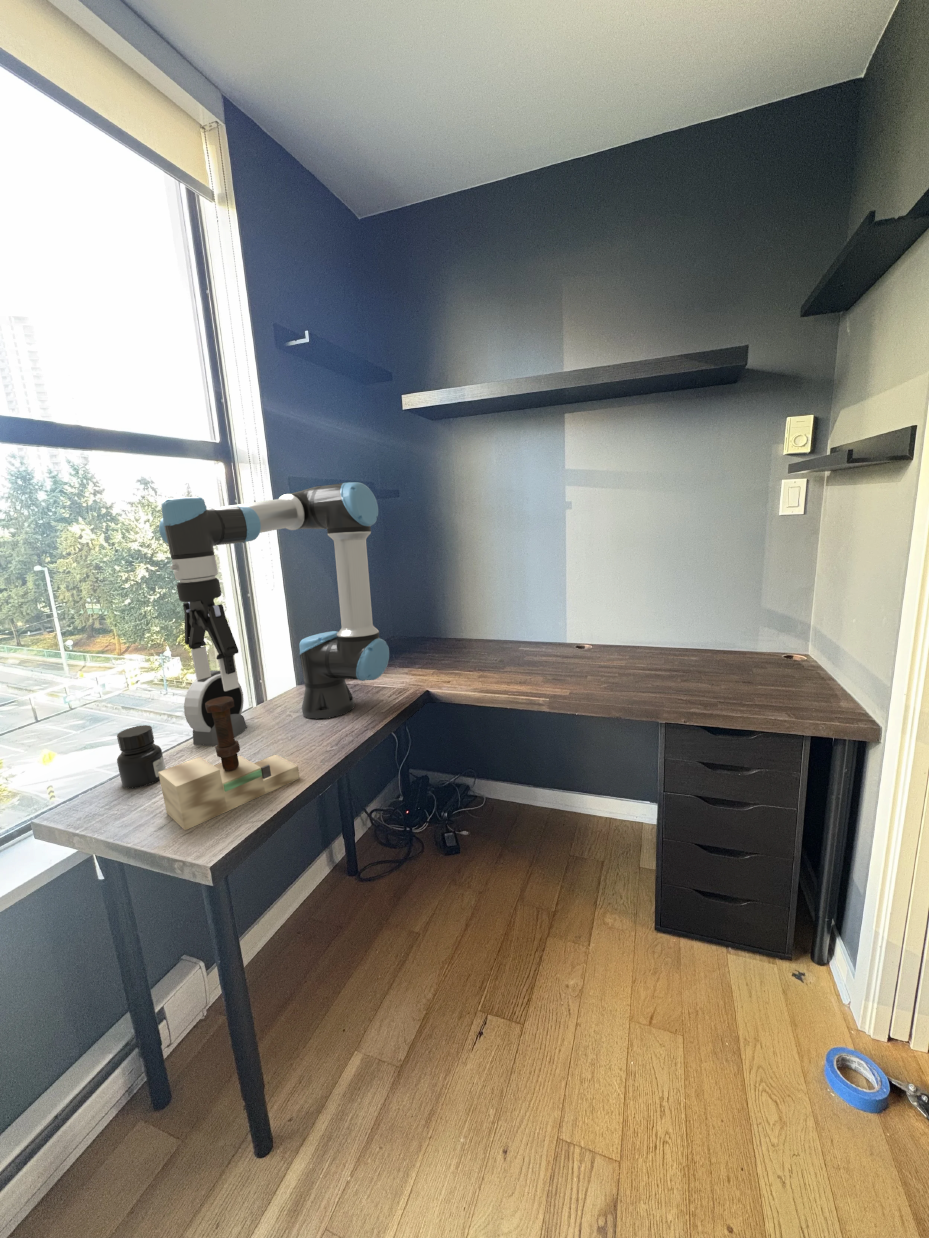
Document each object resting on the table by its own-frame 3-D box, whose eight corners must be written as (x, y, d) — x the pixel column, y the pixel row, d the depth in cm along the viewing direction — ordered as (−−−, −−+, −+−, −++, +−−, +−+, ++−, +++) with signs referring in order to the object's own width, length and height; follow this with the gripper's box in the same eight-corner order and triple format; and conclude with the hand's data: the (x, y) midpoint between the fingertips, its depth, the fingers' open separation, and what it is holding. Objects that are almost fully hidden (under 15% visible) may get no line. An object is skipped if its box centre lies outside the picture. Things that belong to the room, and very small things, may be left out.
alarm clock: (213, 749, 136) (200, 682, 133) (182, 746, 140) (169, 680, 136) (256, 724, 151) (245, 663, 148) (227, 722, 154) (217, 662, 151)
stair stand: (277, 766, 123) (271, 730, 122) (301, 779, 116) (295, 740, 114) (166, 813, 107) (158, 771, 105) (186, 831, 99) (177, 787, 98)
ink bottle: (171, 779, 122) (161, 730, 119) (127, 794, 116) (115, 743, 114) (161, 766, 129) (151, 720, 126) (118, 780, 123) (107, 732, 121)
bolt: (249, 761, 113) (238, 695, 110) (240, 773, 108) (228, 703, 105) (222, 764, 113) (210, 697, 110) (212, 775, 108) (198, 706, 105)
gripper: (155, 580, 109) (175, 678, 113) (202, 584, 92) (224, 700, 96) (193, 574, 114) (211, 669, 118) (244, 578, 97) (263, 687, 101)
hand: (217, 683), depth 107 cm, fingers open, 13 cm apart
